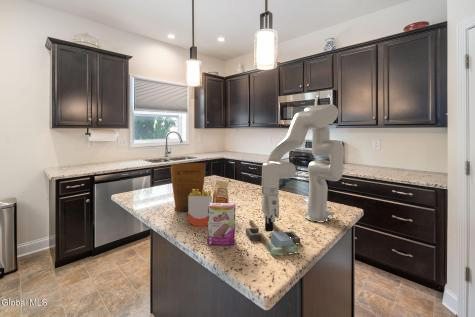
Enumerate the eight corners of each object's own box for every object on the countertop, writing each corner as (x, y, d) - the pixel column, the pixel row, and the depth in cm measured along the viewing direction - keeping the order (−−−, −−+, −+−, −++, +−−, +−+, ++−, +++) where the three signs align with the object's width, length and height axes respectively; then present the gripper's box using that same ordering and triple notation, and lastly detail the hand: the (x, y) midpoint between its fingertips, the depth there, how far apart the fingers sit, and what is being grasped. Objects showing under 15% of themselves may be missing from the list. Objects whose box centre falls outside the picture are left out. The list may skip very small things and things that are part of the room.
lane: (277, 222, 123) (277, 218, 123) (308, 252, 93) (308, 246, 92) (240, 225, 119) (240, 220, 118) (260, 257, 88) (260, 250, 88)
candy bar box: (207, 245, 97) (207, 206, 95) (208, 240, 102) (208, 202, 100) (235, 245, 97) (235, 206, 95) (234, 240, 102) (235, 202, 100)
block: (281, 242, 102) (282, 230, 101) (292, 252, 93) (292, 239, 93) (270, 243, 100) (271, 231, 100) (280, 253, 92) (281, 241, 91)
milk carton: (214, 219, 127) (214, 181, 125) (211, 213, 136) (211, 178, 134) (230, 217, 129) (231, 181, 127) (227, 212, 138) (227, 177, 136)
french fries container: (190, 222, 121) (190, 187, 119) (211, 222, 122) (212, 187, 120) (188, 225, 117) (188, 189, 115) (210, 226, 117) (211, 189, 115)
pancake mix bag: (205, 212, 137) (205, 163, 134) (170, 212, 135) (170, 163, 132) (205, 208, 144) (205, 162, 141) (172, 209, 142) (172, 161, 139)
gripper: (285, 194, 100) (283, 237, 102) (271, 186, 114) (270, 224, 116) (268, 195, 98) (266, 238, 100) (256, 187, 112) (255, 225, 114)
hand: (268, 230), depth 108 cm, fingers closed
